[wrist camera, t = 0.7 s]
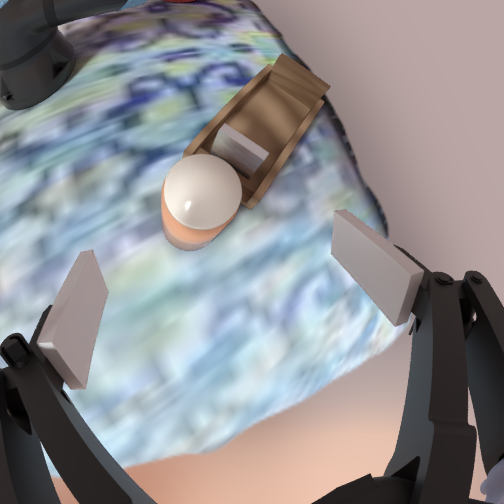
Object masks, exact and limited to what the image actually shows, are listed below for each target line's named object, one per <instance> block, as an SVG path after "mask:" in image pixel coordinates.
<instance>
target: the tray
mask: <svg viewBox="0 0 504 504" xmlns="http://www.w3.org/2000/svg"><path fill="white" fill-rule="evenodd" d="M329 88H330V86H329V85H328V84H327V83H325V82H324V81H323V80H321V79H320V78H318V77H317V76H316V75H314V74H313V73H311V72H310V71H309V70H307V69H306V68H304V67H303V66H301V65H300V64H298V63H297V62H295V61H294V60H292V59H291V58H289V57H288V56H286V55H284V54H283V53H282V54H281V55H280V56H279V57H278V59H277V61H276V62H275V64H274V66H272V65H270V64H268V65H267V66H266V67H265V68H264V69H263V70H261V71H260V72H259V73H258V74H257V75H256V76H255V77H254V78H253V79H252V80H251V81H250V82H249V83H248V84H247V85H245V86H244V87H243V88H242V89H241V90H240V91H239V92H238V93H237V94H236V95H235V96H234V97H233V98H232V99H231V100H230V101H229V102H228V103H227V104H226V105H225V106H224V107H223V108H222V109H221V111H220V112H219V113H218V114H217V115H216V116H215V117H214V118H213V119H212V120H211V121H210V122H209V123H208V124H207V125H206V127H205V128H204V129H203V130H202V131H201V132H200V133H199V134H198V135H197V137H196V138H195V139H194V140H193V141H192V142H191V143H190V144H189V146H188V147H187V148H186V149H185V150H184V153H183V158H185V157H188V156H191V155H195V154H208V155H211V154H210V151H211V148H212V146H213V143H214V141H215V138H216V136H217V133H218V131H219V129H220V128H221V127H222V126H223V125H224V123H225V124H227V125H228V126H230V127H231V128H233V129H234V130H236V131H237V132H239V133H241V134H242V135H244V136H245V137H247V138H248V139H249V140H251V141H252V142H254V143H255V144H257V145H258V146H260V147H261V148H263V149H264V150H265V151H267V152H268V153H269V154H268V156H267V157H266V159H265V160H264V161H263V162H262V164H261V165H260V166H259V167H258V169H257V170H256V171H255V172H254V174H253V175H252V176H251V177H250V179H249V180H248V179H247V178H245V177H244V176H242V175H241V174H239V173H238V172H236V171H235V172H236V173H237V175H238V177H239V179H240V183H241V187H242V197H241V201H240V203H241V204H243V205H244V206H246V207H247V208H248V209H250V210H251V209H252V208H253V207H254V206H255V205H256V204H257V203H258V202H259V201H260V200H261V198H262V197H263V195H264V193H265V192H266V190H267V189H268V187H269V186H270V184H271V183H272V181H273V179H274V178H275V176H276V175H277V173H278V172H279V170H280V169H281V167H282V166H283V164H284V163H285V161H286V160H287V158H288V156H289V155H290V153H291V152H292V150H293V149H294V147H295V146H296V144H297V143H298V141H299V140H300V138H301V137H302V135H303V134H304V132H305V131H306V129H307V128H308V126H309V125H310V123H311V122H312V120H313V119H314V117H315V116H316V114H317V113H318V111H319V110H320V108H321V107H322V105H323V104H324V101H323V100H321V99H320V98H321V97H322V96H323V95H324V94H325V93H326V92H327V90H328V89H329ZM183 158H182V159H183Z"/></svg>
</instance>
